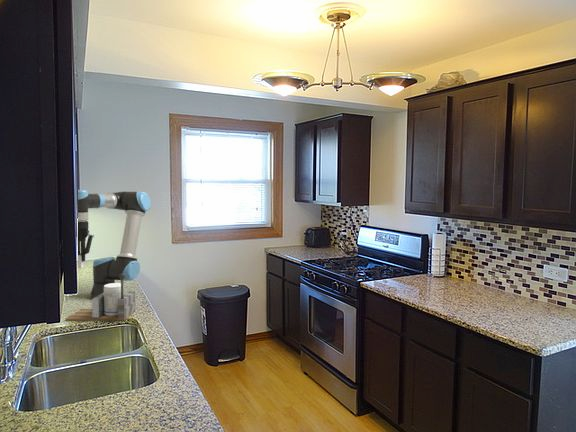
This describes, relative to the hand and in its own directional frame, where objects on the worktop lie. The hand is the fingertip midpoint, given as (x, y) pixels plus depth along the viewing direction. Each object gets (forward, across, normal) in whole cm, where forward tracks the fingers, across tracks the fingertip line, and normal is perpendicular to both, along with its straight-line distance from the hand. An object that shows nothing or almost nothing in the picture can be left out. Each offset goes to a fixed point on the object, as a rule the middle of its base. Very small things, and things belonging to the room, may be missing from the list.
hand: (80, 267), depth 206 cm
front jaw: (+23, +10, 0) cm, 25 cm away
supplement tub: (+23, +16, 0) cm, 29 cm away
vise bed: (+24, +10, 0) cm, 26 cm away
